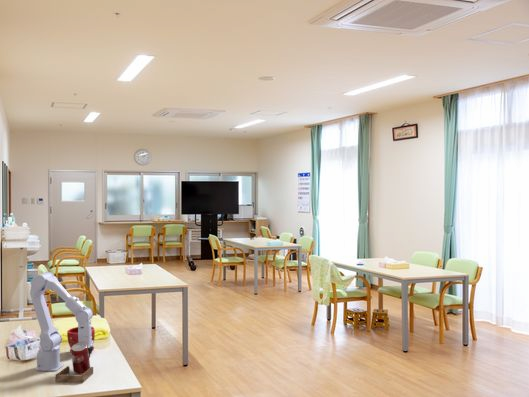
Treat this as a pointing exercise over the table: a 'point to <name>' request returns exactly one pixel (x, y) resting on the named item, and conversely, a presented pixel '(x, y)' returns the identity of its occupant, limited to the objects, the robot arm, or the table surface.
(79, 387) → the table surface
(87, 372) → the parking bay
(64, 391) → the table surface
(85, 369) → the soda can
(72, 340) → the plant pot
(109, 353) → the table surface
